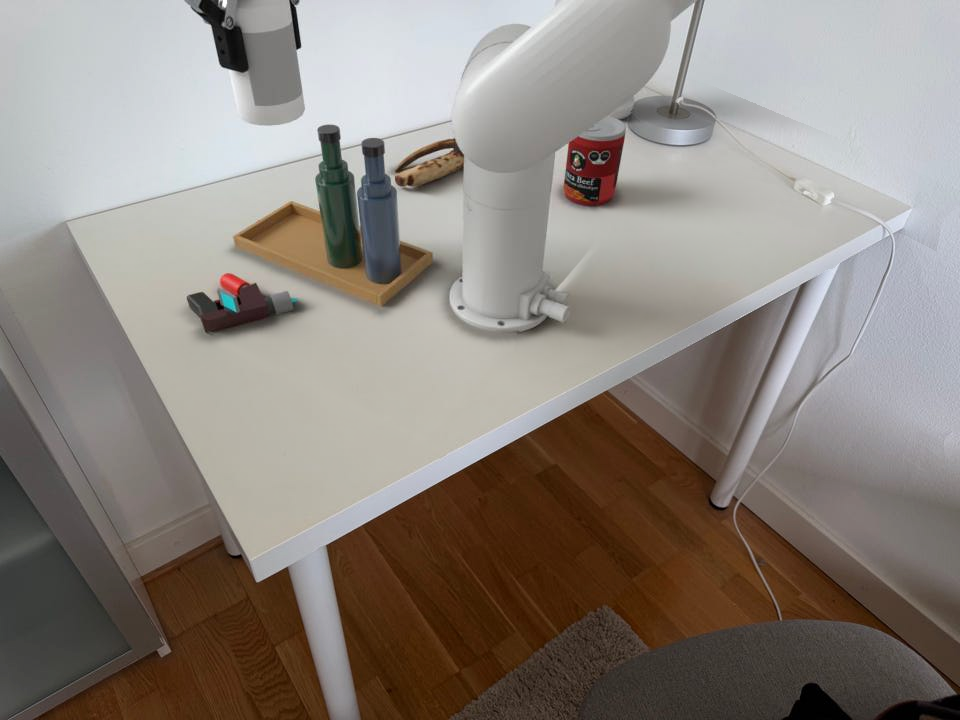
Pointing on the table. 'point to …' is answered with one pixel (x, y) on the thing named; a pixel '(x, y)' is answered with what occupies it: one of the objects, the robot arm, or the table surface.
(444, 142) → the lashed bone hook
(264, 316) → the toy gun
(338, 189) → the green bottle
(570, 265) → the table surface
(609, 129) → the canned food
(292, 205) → the tray
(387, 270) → the slate bottle
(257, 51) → the spray bottle
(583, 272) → the table surface
